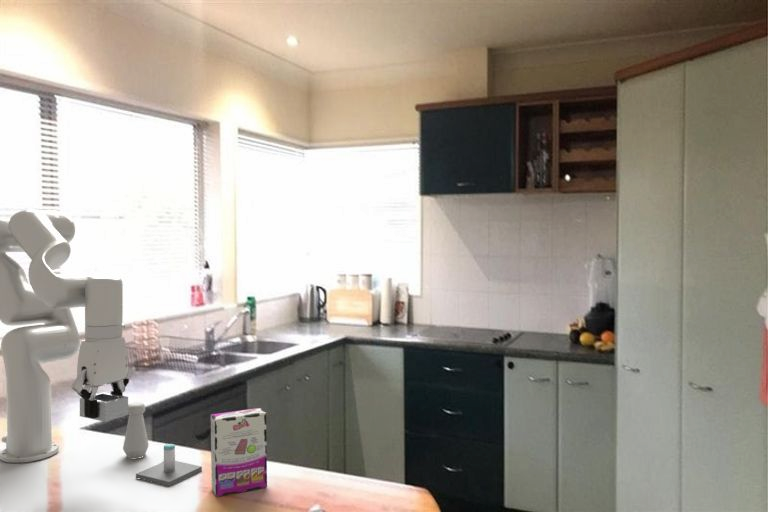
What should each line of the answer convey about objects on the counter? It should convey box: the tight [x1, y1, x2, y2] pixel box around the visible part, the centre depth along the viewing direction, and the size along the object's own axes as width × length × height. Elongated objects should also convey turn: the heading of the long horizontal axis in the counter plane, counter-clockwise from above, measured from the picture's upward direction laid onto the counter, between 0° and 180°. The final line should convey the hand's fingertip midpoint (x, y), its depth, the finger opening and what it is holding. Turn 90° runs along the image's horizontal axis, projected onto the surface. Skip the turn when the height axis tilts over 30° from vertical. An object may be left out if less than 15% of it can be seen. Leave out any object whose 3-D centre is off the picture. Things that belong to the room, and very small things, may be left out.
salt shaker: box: [122, 401, 149, 459], centre depth 153 cm, size 6×6×13 cm
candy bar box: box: [210, 407, 268, 497], centre depth 134 cm, size 11×5×16 cm, turn 118°
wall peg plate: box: [135, 443, 203, 487], centre depth 141 cm, size 10×10×7 cm
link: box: [79, 391, 129, 422], centre depth 137 cm, size 8×6×4 cm
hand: (103, 412), depth 137 cm, fingers closed on link, 6 cm apart
